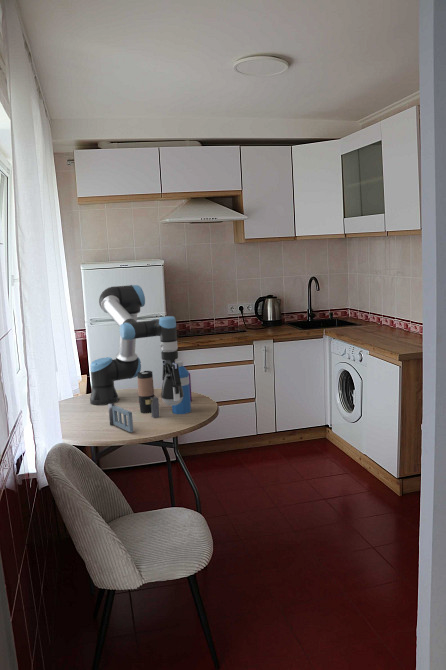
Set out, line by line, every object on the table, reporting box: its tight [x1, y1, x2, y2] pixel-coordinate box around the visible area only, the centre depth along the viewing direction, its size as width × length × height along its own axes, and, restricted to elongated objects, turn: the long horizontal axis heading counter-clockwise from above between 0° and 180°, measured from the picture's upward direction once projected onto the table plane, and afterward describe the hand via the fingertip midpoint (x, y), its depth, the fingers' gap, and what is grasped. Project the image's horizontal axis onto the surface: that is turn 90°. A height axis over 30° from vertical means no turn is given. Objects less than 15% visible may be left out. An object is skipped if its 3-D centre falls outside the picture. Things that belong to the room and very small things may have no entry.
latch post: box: [145, 396, 160, 419], centre depth 272 cm, size 4×5×10 cm, turn 116°
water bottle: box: [171, 360, 192, 415], centre depth 278 cm, size 9×9×25 cm
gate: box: [112, 404, 134, 433], centre depth 254 cm, size 2×17×9 cm, turn 36°
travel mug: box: [136, 370, 155, 414], centre depth 282 cm, size 8×8×20 cm
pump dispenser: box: [160, 372, 184, 406], centre depth 259 cm, size 10×10×15 cm
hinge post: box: [107, 403, 115, 426], centre depth 263 cm, size 3×3×10 cm
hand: (172, 398), depth 260 cm, fingers closed on pump dispenser, 10 cm apart
